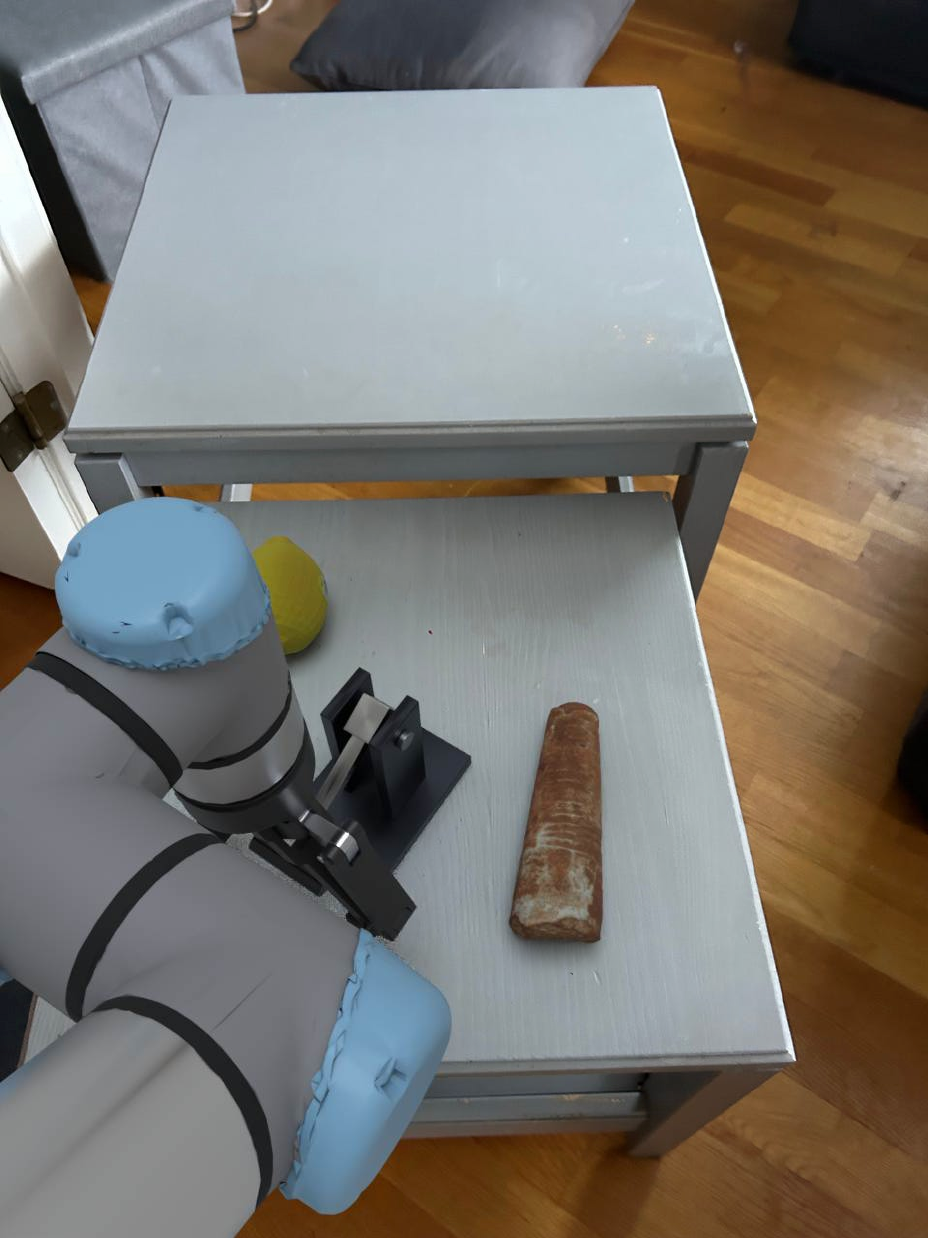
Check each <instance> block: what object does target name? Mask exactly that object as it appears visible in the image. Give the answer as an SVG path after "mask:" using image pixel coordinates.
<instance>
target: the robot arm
mask: <svg viewBox="0 0 928 1238" xmlns="http://www.w3.org/2000/svg"><path fill="white" fill-rule="evenodd" d="M54 592H55V598H56V601H57V605H58V607H59V610H60V611H59V615H60V616H61V617H62V620H61V623H62V625H63V626H62V627H60V628H59V629H58V630H57V631H56V632H55V633H54V634H53V635H52V636H51V637H50V638H49V639H48V640H47V641H46V642H44V644H42V645H41V647H39V648H38V649H37V650H36V651H35V653H34V657H33V658H32V659H31V660H30V661H28V663H27V664H26V665H25V666H24V667H23V668H22V669H21V672H20V673H19V674H18V675H17V676H16V677H15V678H13V680H12V681H11V682H10V683H9V684H7V685H6V686H5V687H4V688H3V689H2V690H0V987H2V985H4V984H5V983H8V982H11V981H13V980H16V981H17V982H18V983H20V984H21V985H23V987H25V988H27V989H28V990H29V991H31V992H32V993H34V995H36V996H38V997H39V998H40V999H42V1000H43V1001H45V1002H46V1003H48V1004H49V1005H50V1006H51V1007H53V1008H54V1009H55V1010H57V1011H58V1012H60V1013H61V1014H62V1015H64V1016H65V1017H67V1018H68V1019H69V1020H71V1021H72V1022H74V1023H75V1024H74V1025H73V1026H71V1027H70V1028H69V1029H67V1030H66V1031H65V1032H64V1033H61V1035H60V1036H58V1037H57V1038H55V1039H54V1040H53V1041H52V1042H51V1043H49V1044H48V1045H47V1046H46V1047H45V1048H43V1049H42V1050H41V1051H39V1052H38V1053H36V1054H35V1055H34V1056H33V1057H31V1058H30V1059H29V1060H28V1061H26V1062H25V1063H24V1064H22V1065H21V1066H20V1067H18V1068H17V1069H16V1070H14V1071H13V1072H12V1073H11V1074H10V1075H8V1076H7V1077H6V1078H4V1079H3V1080H2V1081H1V1082H0V1238H235V1237H236V1236H237V1234H238V1233H239V1232H240V1231H241V1230H242V1228H243V1227H244V1226H245V1224H246V1223H247V1222H248V1220H249V1219H250V1218H251V1217H252V1216H253V1215H254V1214H255V1212H256V1211H257V1210H258V1209H259V1208H260V1206H261V1205H262V1204H263V1202H264V1201H266V1198H268V1196H269V1195H270V1194H272V1193H273V1192H274V1190H276V1189H278V1190H279V1191H280V1193H281V1194H282V1195H283V1197H284V1198H285V1199H286V1200H299V1201H300V1202H302V1203H304V1204H305V1205H306V1206H308V1207H309V1208H310V1209H312V1210H314V1211H315V1212H316V1213H318V1214H320V1215H332V1216H333V1215H337V1214H341V1213H343V1212H345V1211H346V1210H348V1209H349V1208H350V1207H351V1206H352V1205H353V1204H354V1203H355V1202H356V1201H357V1200H358V1199H359V1197H360V1195H361V1193H362V1192H363V1191H365V1190H366V1189H367V1188H368V1187H369V1186H370V1185H371V1184H372V1182H373V1181H374V1180H375V1179H376V1177H377V1175H378V1174H379V1172H380V1171H381V1170H382V1168H383V1166H384V1165H385V1164H386V1162H387V1160H388V1159H389V1157H390V1156H391V1154H392V1152H394V1149H395V1148H396V1147H397V1145H398V1143H399V1141H400V1140H401V1138H402V1137H403V1135H404V1133H405V1131H406V1130H407V1128H408V1127H409V1124H410V1123H411V1121H412V1119H413V1118H414V1117H415V1114H416V1112H417V1111H418V1109H419V1107H420V1106H421V1104H422V1101H423V1100H424V1098H425V1096H426V1094H427V1092H428V1090H429V1088H430V1087H431V1085H432V1082H433V1080H434V1078H435V1076H436V1074H437V1072H438V1069H439V1067H440V1065H441V1063H442V1061H443V1058H444V1055H445V1054H446V1050H447V1047H448V1044H449V1043H450V1039H451V1034H452V1027H453V1021H452V1017H453V1016H452V1011H451V1007H450V1004H449V1002H448V1000H447V998H446V996H445V995H444V993H443V992H442V991H441V990H440V989H439V988H438V987H437V986H436V985H435V984H433V982H431V981H429V980H428V979H427V978H426V977H424V976H423V975H422V974H420V973H419V972H418V971H416V970H415V969H414V968H413V967H412V966H410V965H409V964H408V963H407V962H406V961H405V960H403V959H402V958H400V957H399V956H398V955H396V954H395V953H394V952H393V951H391V950H390V949H389V948H388V947H386V946H385V945H384V944H383V943H382V942H380V941H379V940H377V938H379V937H382V939H384V940H386V941H388V942H395V940H397V938H398V936H399V934H400V933H401V932H402V930H403V929H404V927H405V925H406V924H407V923H408V922H409V920H410V919H411V917H412V916H413V914H414V912H415V911H416V910H417V908H418V906H417V905H416V903H415V901H414V900H413V899H412V898H411V896H410V895H409V894H408V893H407V891H406V889H404V888H403V886H402V885H401V883H400V882H399V881H398V879H397V878H396V876H395V875H394V874H393V873H391V871H390V870H389V869H388V867H387V866H386V865H385V863H384V862H383V861H382V859H381V858H380V857H379V855H378V854H377V853H376V851H375V850H374V849H373V847H372V846H371V845H370V843H369V841H368V838H367V836H366V833H365V830H364V829H363V827H362V826H361V824H360V823H359V822H358V821H356V820H354V819H352V818H347V819H346V820H345V822H344V823H342V825H341V826H340V827H339V828H338V827H336V826H335V825H334V819H333V817H332V816H331V815H330V814H329V813H328V812H327V811H326V809H325V808H324V807H323V806H322V805H321V804H320V803H319V802H318V801H317V800H316V799H315V798H314V797H313V796H312V794H311V790H312V785H313V782H314V780H315V773H316V752H315V747H314V744H313V740H312V738H311V734H310V732H309V728H308V724H307V722H306V719H305V717H304V714H303V712H302V708H301V705H300V703H299V700H298V697H297V694H296V692H295V688H294V685H293V683H292V676H291V672H290V670H289V666H288V663H287V660H286V656H285V655H284V651H283V648H282V644H281V640H280V637H279V633H278V629H277V626H276V622H275V619H274V615H273V611H272V608H271V598H270V592H269V589H268V588H267V586H266V584H265V581H264V579H263V578H262V577H261V575H260V572H259V570H258V567H257V565H256V562H255V560H254V557H253V555H252V552H251V550H250V548H249V547H248V545H247V543H246V540H245V538H244V536H243V535H242V534H241V532H240V531H239V530H238V528H237V527H236V526H235V524H234V523H233V522H232V521H231V520H230V519H228V517H226V516H225V515H223V514H222V513H220V512H219V511H217V510H216V509H215V508H214V507H211V506H208V505H205V504H203V503H200V502H198V501H195V500H191V499H186V498H182V497H173V496H172V497H170V496H153V497H146V498H140V499H135V500H131V501H128V502H125V503H123V504H119V505H116V506H114V507H112V508H110V509H108V510H105V511H104V512H102V513H100V514H99V515H97V516H96V517H94V518H93V519H91V520H90V521H89V522H87V523H86V524H84V526H82V528H80V529H79V530H78V531H77V532H76V533H75V535H74V536H73V537H72V538H71V539H70V541H69V542H68V544H67V547H66V550H65V552H64V555H63V558H62V559H61V562H60V565H59V567H58V569H57V571H56V572H55V577H54ZM171 790H173V794H174V796H175V797H176V799H177V800H178V801H179V802H180V803H181V804H182V806H183V808H184V809H185V810H186V812H187V813H188V814H189V815H190V817H189V816H187V815H186V814H184V813H183V812H181V811H180V810H179V809H178V808H175V807H174V806H172V804H170V803H168V802H166V801H165V800H164V799H165V797H166V796H167V794H168V793H169V792H170V791H171ZM191 817H192V818H193V819H194V820H193V819H192V818H191ZM246 834H251V835H253V837H254V836H255V837H257V838H259V839H262V840H264V841H266V842H267V843H268V844H269V845H270V846H271V847H272V848H273V849H274V850H275V851H276V852H277V853H278V854H279V855H280V856H281V857H282V858H283V859H284V860H286V861H287V862H290V863H292V864H295V865H298V866H302V865H303V866H304V867H305V868H306V869H307V870H308V871H309V872H310V873H311V874H312V875H313V876H314V877H315V878H316V879H317V880H318V881H319V882H320V883H321V884H322V885H323V886H324V887H325V888H326V889H327V892H329V894H331V895H332V897H334V899H336V901H337V902H338V903H339V904H340V905H341V906H342V907H343V908H344V909H345V910H346V911H347V913H346V914H345V916H344V917H345V919H344V918H343V917H341V916H339V915H338V914H337V913H336V912H334V911H332V910H331V909H330V908H327V907H326V906H324V905H323V904H321V903H319V902H318V901H317V900H315V899H313V898H312V897H310V896H309V895H308V894H305V893H304V892H303V891H301V890H300V889H298V888H296V887H295V886H293V885H291V884H290V883H288V882H287V881H285V880H284V879H282V877H280V876H278V875H276V874H275V873H273V872H271V871H270V870H268V869H267V868H265V867H263V866H262V865H261V864H260V863H257V862H256V861H254V860H253V859H251V858H249V857H248V856H246V855H245V854H243V853H242V852H241V851H239V850H237V849H236V848H235V847H233V846H231V845H229V844H228V843H227V841H228V840H229V839H230V838H231V837H232V835H246ZM286 840H295V841H294V843H293V844H292V845H291V846H290V845H289V844H290V843H288V842H287V841H286ZM376 937H377V938H376Z"/></svg>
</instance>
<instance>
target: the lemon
mask: <svg viewBox="0 0 928 1238" xmlns="http://www.w3.org/2000/svg"><path fill="white" fill-rule="evenodd" d="M251 554H252V555H253V557H254V560H255V562H256V565H257V567H258V570H259V572H260V575H261V577H262V578H263V579H264V581H265V584H266V586H267V588H268V589H269V592H270V598H271V608H272V611H273V615H274V619H275V622H276V626H277V629H278V633H279V637H280V640H281V644H282V648H283V651H284V655H286V656H287V655H290V654H295V653H299V652H301V651H303V650H305V648H307V647H308V646H309V645H310V644H311V643H312V642H313V641H314V639H316V637H317V636H318V634H319V633H320V631H321V630H322V628H323V625H325V621H326V617H327V613H328V604H329V603H328V602H329V596H328V595H329V594H328V593H329V592H328V586H327V582H326V578H325V576H324V573H323V572H322V570H321V568H320V567H319V565H318V563H316V561H315V560H314V559H313V558H312V557H311V555H309V554H308V553H307V552H306V551H305V550H304V549H303V548H301V547H299V546H298V545H297V544H296V543H294V542H293V541H292V540H291V539H290V538H288V537H287V536H285V535H273V536H271V537H269V538H267V540H266V541H264V542H263V543H262V544H261V545H259V546H258V547H257V548H256V549H255V550H253V552H251Z"/></svg>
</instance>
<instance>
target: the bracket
mask: <svg viewBox="0 0 928 1238" xmlns="http://www.w3.org/2000/svg"><path fill="white" fill-rule="evenodd" d="M374 690H375V689H374V686H373V679H372V674H371V672H369V671H367V670H366V669H364V668H362V667H361V666H358V668H357V669H356V670H355V671H354V672H353V674H352V675H351V676H350V677H349V678H348V680H347V681H346V682H345V683H344V684H343V686H342V687H341V688H340V689H339V690H338V692H337V693H336V694H335V695H334V697H332V699H331V700H330V701H329V702H328V704H327V705H326V706H325V707H324V708H323V709H322V710H321V712H320V713H319V716H320V720H321V724H322V727H323V730H324V734H325V738H326V741H327V745H328V749H329V752H330V756H331V759H330V760H329V762H327V764H326V766H325V767H323V769H322V770H321V771H320V773H319V774H318V775H317V776H316V778H314V779H313V785H312V790H311V794H312V796H313V797H314V798H315V799H316V797H317V795H318V793H319V792H320V790H321V788H322V786H323V785H324V783H325V781H326V780H327V778H328V776H329V774H330V773H331V771H332V769H333V767H334V766H335V764H336V762H337V760H338V759H339V757H340V755H341V753H342V752H343V750H344V748H345V746H346V745H347V743H348V741H349V739H350V738H351V736H352V734H351V733H349V732H347V731H346V730H344V729H343V727H344V726H345V724H346V722H347V720H348V719H349V717H350V715H351V714H352V712H353V710H354V708H355V707H356V705H357V703H358V701H359V700H360V698H361V696H362V694H363V693H366V694H368V695H371V696H373V697H375V691H374ZM375 698H376V697H375ZM394 709H395V711H394V712H393V713H392V714H391V716H390V717H389V718H388V719H387V721H386V722H385V723H384V724H383V726H382V727H381V728H380V730H379V731H378V732H377V733H376V735H375V736H374V737H373V738H372V740H371V741H370V742H369V746H368V748H367V750H366V751H365V753H364V755H363V757H362V758H361V760H360V762H359V764H358V765H357V767H356V769H355V771H354V772H353V774H352V776H351V778H350V779H349V781H348V783H347V785H346V786H345V788H344V790H343V792H342V793H341V795H340V797H339V798H338V800H337V802H336V804H335V805H334V807H333V809H332V811H331V812H330V815H331V816H332V817H333V819H334V825H335V826H336V827H338V828H339V827H340V826H341V825H342V823H344V822H345V820H346V819H347V818H352V819H354V820H356V821H358V822H359V823H360V824H361V826H362V827H363V829H364V830H365V833H366V836H367V838H368V841H369V843H370V845H371V846H372V847H373V849H374V850H375V851H376V853H377V854H378V855H379V857H380V858H381V859H382V861H383V862H384V863H385V865H386V866H387V867H388V869H389V870H390V871H391V873H392V874H393V873H394V872H395V871H396V869H397V868H398V867H399V866H400V864H401V863H402V861H403V859H404V858H405V857H406V855H407V854H408V853H409V851H410V849H412V847H413V846H414V844H415V843H416V841H417V840H418V838H419V837H420V836H421V834H422V833H423V831H424V830H425V828H426V827H427V826H428V824H429V823H430V821H431V820H432V819H433V818H434V816H435V815H436V813H437V812H438V811H439V809H440V808H441V806H442V805H443V803H444V802H445V800H446V799H447V798H448V796H449V795H450V794H451V792H452V791H453V789H454V788H455V786H456V785H457V784H458V783H459V781H460V779H461V778H462V777H463V775H465V772H466V771H467V770H468V768H469V767H470V766H471V764H472V755H471V754H469V753H467V752H465V751H463V750H461V749H460V748H458V747H457V746H455V745H453V744H451V743H450V742H448V741H447V740H445V739H443V738H442V737H439V736H438V735H436V734H435V733H433V732H431V731H430V730H428V729H426V728H425V727H423V726H422V720H421V711H420V710H421V709H420V702H419V700H417V699H416V698H414V697H413V696H411V695H409V694H406V695H405V696H404V698H403V699H402V700H401V701H400V703H399V704H398V705H397V707H396V708H394Z"/></svg>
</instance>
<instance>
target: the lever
mask: <svg viewBox="0 0 928 1238" xmlns="http://www.w3.org/2000/svg"><path fill="white" fill-rule="evenodd" d="M395 709H396V708H394V707H392V706H391V705H389V704H387V703H386V702H384V701H382V700H381V699H378V698H377V697H373V696H371V695H368V694H366V693H363V694H362V696H361V698H360V700H359V701H358V703H357V705H356V707H355V708H354V710H353V712H352V714H351V715H350V717H349V719H348V720H347V722H346V724H345V726H344V727H343V729H344V730H346V731H347V732H349V733H351V734H352V736H351V738H350V739H349V741H348V743H347V745H346V746H345V748H344V750H343V752H342V753H341V755H340V757H339V759H338V760H337V762H336V764H335V766H334V767H333V769H332V771H331V773H330V774H329V776H328V778H327V780H326V781H325V783H324V785H323V786H322V788H321V790H320V792H319V793H318V795H317V797H316V800H317V801H318V802H319V803H320V804H321V805H322V806H323V807H324V808H325V809H326V811H327V812H328V813H329V814H330V812H331V811H332V809H333V807H334V805H335V804H336V802H337V800H338V798H339V797H340V795H341V793H342V792H343V790H344V788H345V786H346V785H347V783H348V781H349V779H350V778H351V776H352V774H353V772H354V771H355V769H356V767H357V765H358V764H359V762H360V760H361V758H362V757H363V755H364V753H365V751H366V750H367V748H368V746H369V742H370V741H371V740H372V738H373V737H374V736H375V735H376V733H377V732H378V731H379V730H380V728H381V727H382V726H383V724H384V723H385V722H386V721H387V719H388V718H389V717H390V716H391V714H392V713H393V712H394V711H395ZM294 841H295V840H292V839H290V842H289V843H288V844H289V845H290V846H291V845H292V844H293V843H294ZM248 850H249V851H250V852H252V853H254V855H256V856H257V857H259V858H261V859H262V860H264V861H265V862H267V863H268V864H269V865H270V866H272V867H274V868H275V869H277V870H278V871H279V872H281V873H283V874H284V875H285V876H287V877H289V879H291V880H293V881H294V882H295V883H297V884H299V886H301V887H303V888H304V889H306V890H308V891H309V892H310V893H312V894H313V895H315V896H316V897H318V898H321V897H322V896H323V895H324V894H325V893H326V892H328V890H327V889H326V888H325V887H324V886H323V885H322V884H321V883H320V882H319V881H318V880H317V879H316V878H315V877H314V876H313V875H312V874H311V873H310V872H309V871H308V870H307V869H306V868H305V867H304V866H303V865H302V866H298V865H295V864H292V863H290V862H287V861H286V860H284V859H283V858H282V857H281V856H280V855H279V854H278V853H277V852H276V851H275V850H274V849H273V848H272V847H271V846H270V845H269V844H268V843H267V842H266V841H264V840H262V839H259V838H257V837H255V836H254V835H253V837H252V838H251V839H250V841H249V844H248Z"/></svg>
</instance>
